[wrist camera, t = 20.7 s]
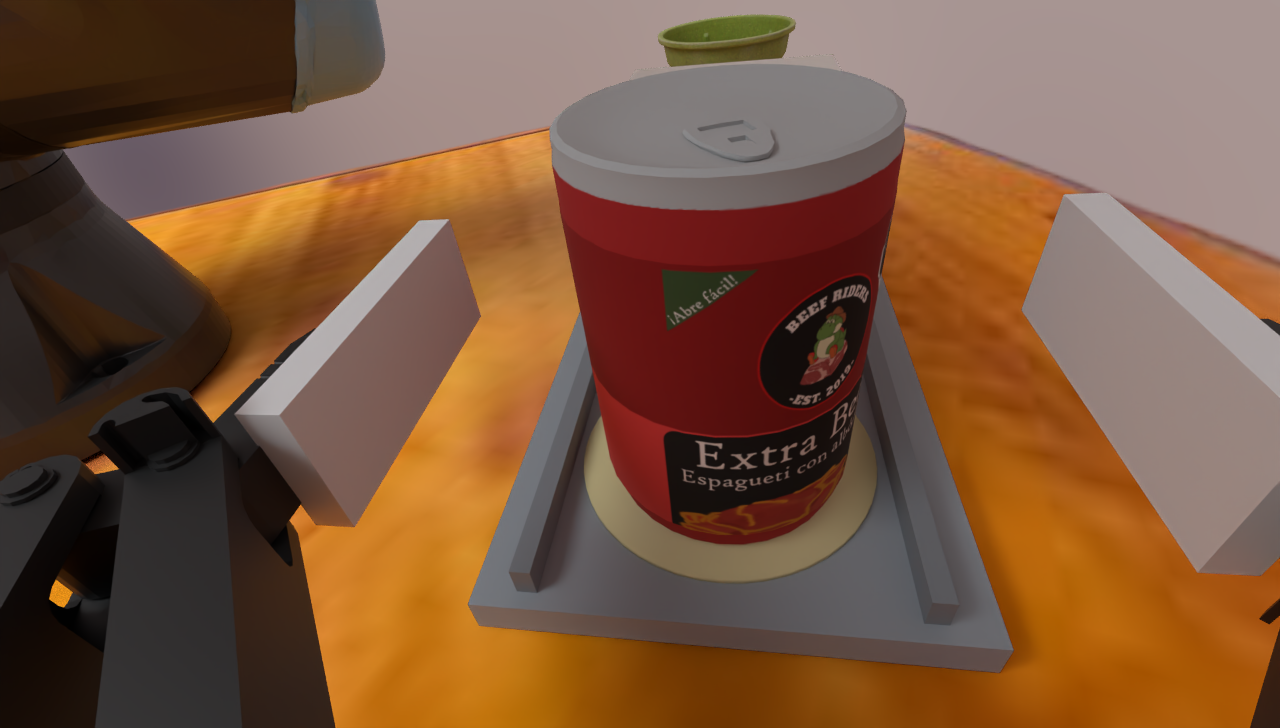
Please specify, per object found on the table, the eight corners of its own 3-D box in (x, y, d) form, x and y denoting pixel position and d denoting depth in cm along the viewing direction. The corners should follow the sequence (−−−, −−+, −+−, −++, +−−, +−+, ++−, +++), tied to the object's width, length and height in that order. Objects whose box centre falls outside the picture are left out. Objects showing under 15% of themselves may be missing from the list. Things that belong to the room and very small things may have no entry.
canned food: (690, 602, 15) (656, 215, 9) (573, 426, 21) (497, 108, 14) (902, 479, 18) (1006, 100, 11) (745, 350, 24) (750, 48, 17)
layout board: (999, 672, 15) (1047, 598, 12) (479, 625, 17) (441, 555, 15) (857, 234, 33) (866, 172, 31) (616, 240, 35) (608, 183, 33)
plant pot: (650, 174, 44) (638, 44, 38) (686, 132, 50) (680, 17, 45) (776, 178, 40) (782, 39, 35) (796, 133, 47) (805, 10, 42)
